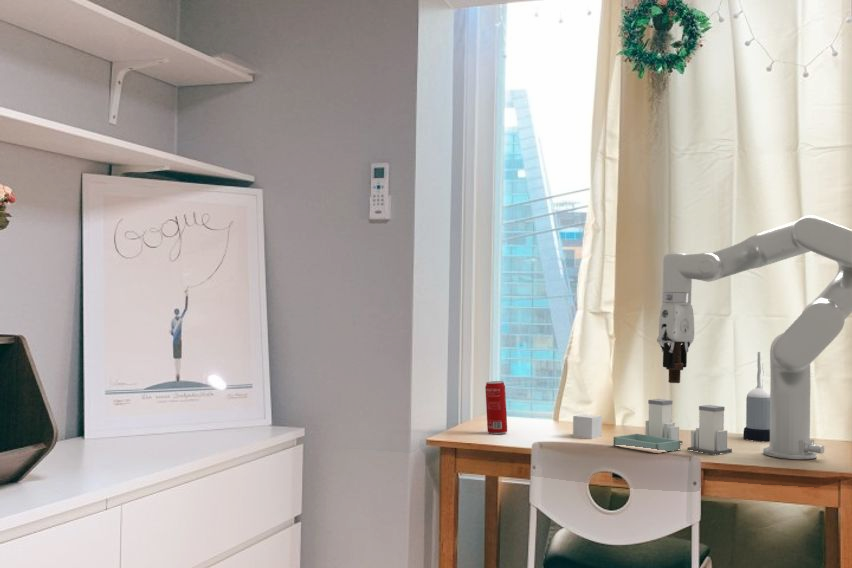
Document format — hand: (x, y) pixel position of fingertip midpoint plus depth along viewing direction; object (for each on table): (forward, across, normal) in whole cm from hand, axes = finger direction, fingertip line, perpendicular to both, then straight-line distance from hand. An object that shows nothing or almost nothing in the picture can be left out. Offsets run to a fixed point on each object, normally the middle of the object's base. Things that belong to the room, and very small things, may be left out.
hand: (674, 366), depth 234 cm
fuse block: (+22, +3, -2) cm, 22 cm away
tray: (+22, -7, +3) cm, 23 cm away
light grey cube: (+22, -6, +25) cm, 34 cm away
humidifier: (+21, +33, -5) cm, 40 cm away
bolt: (+5, 0, 0) cm, 5 cm away
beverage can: (+23, -24, +44) cm, 55 cm away
